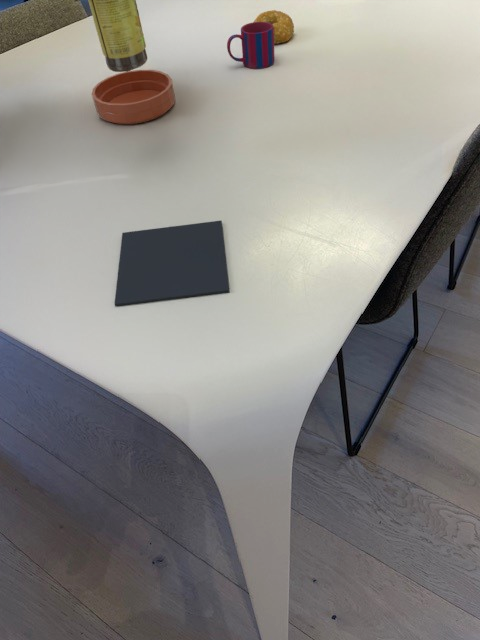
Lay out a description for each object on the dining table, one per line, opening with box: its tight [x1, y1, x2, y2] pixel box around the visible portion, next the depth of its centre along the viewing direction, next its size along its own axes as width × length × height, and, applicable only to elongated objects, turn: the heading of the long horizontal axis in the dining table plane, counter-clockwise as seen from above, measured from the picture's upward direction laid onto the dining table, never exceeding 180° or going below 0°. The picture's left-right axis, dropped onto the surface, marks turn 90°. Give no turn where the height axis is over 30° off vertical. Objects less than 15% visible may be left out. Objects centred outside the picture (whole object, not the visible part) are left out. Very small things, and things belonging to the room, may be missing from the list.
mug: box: [226, 21, 275, 70], centre depth 103 cm, size 7×10×7 cm
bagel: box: [253, 9, 295, 45], centre depth 112 cm, size 10×11×5 cm
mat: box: [114, 220, 230, 307], centre depth 64 cm, size 14×14×1 cm
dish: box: [91, 69, 176, 125], centre depth 94 cm, size 15×15×4 cm
